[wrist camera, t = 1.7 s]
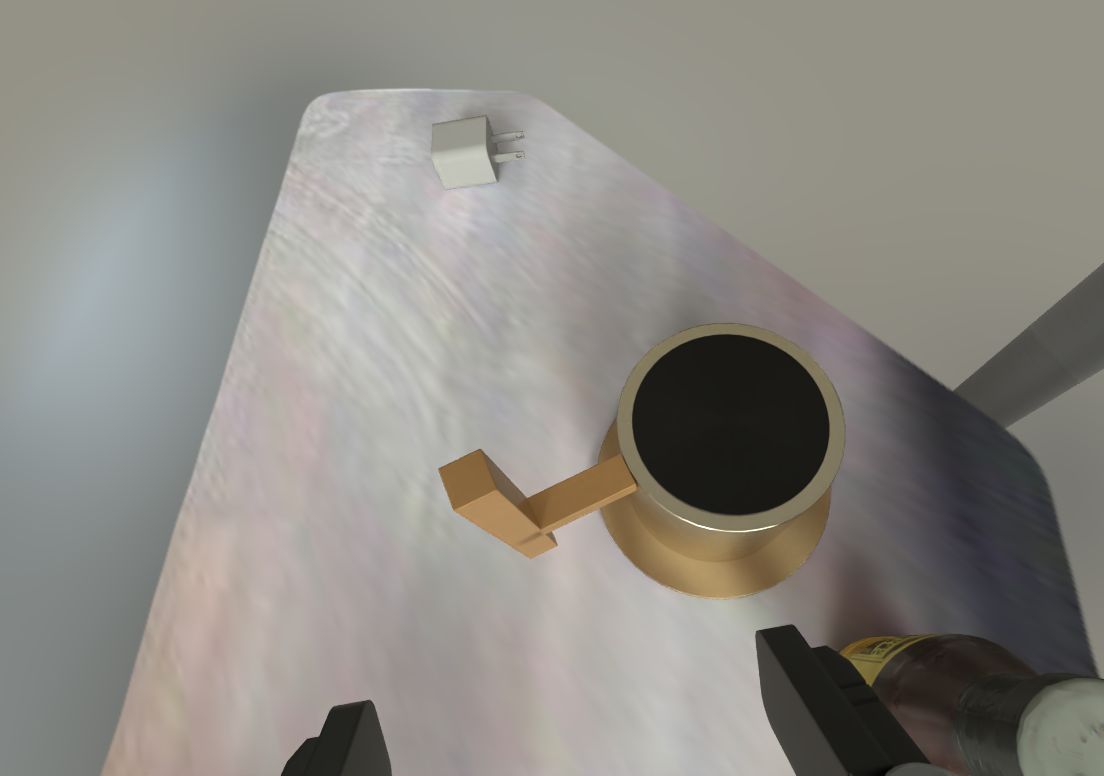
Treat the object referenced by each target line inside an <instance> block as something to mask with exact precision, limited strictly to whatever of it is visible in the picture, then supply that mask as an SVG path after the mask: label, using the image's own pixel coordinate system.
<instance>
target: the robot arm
mask: <svg viewBox="0 0 1104 776" xmlns="http://www.w3.org/2000/svg"><path fill="white" fill-rule="evenodd" d="M755 638H756V648H757V658H758V667H759V676H760V685H761V693H762V699H763V704H764V708H765V711H766V714H767V717H768V720H769V723H770V725H771V727H772V729H773V731H774V733H775V735H776V737H777V739H778V741H779V743H780V745H781V747H782V749H783V751H784V752H785V754H786V756H787V758H788V760H789V762H790V764H791V766H792V768H793V770H794V772H795V774H796V776H958V775H956V774H954V773H952V772H950V771H948V770H946V769H944V768H941V767H938V766H935V765H932V764H931V762H930V761H929V760H928V759H927V757H926V756H925V755H924V754H923V752H922V751H921V750H920V749H919V747H918V746H917V745H916V743H915V742H914V741H913V740H912V738H911V737H910V736H909V735H908V733H907V732H906V731H905V730H904V728H903V727H902V726H901V724H900V723H899V722H898V721H897V719H896V718H895V717H894V716H893V714H892V713H891V712H890V711H889V709H888V708H887V707H886V706H885V704H884V703H883V702H882V701H880V700H879V697H878V695H877V694H876V693H875V692H874V690H873V689H872V688H871V687H870V685H869V684H868V685H867V683H866V680H865V679H864V678H863V676H862V675H861V674H860V673H859V671H858V670H857V669H856V668H855V666H854V665H853V664H852V663H851V661H850V660H848V659H847V658H845V657H843V656H842V655H840V654H839V653H837V652H836V651H834V650H833V649H831V648H829V647H828V646H822V647H816V648H810V646H809V645H808V643H807V642H806V641H805V639H804V638H803V636H802V635H801V634H800V632H799V631H798V629H797V628H796V627H795V626H794V625H792V624H791V625H785V626H780V627H774V628H769V629H763V630H758V631H756V635H755ZM281 776H392V772H391V763H390V759H389V755H388V752H387V748H386V744H385V741H384V737H383V734H382V730H381V727H380V723H379V719H378V716H377V712H376V709H375V706H374V704H373V702H372V701H371V700H366V701H360V702H355V703H349V704H344V705H338V706H334V707H332V709H331V710H330V712H329V714H328V716H327V719H326V721H325V724H324V726H323V728H322V731H321V733H320V735H319V737H314V738H309V739H306V741H305V742H304V743H303V744H302V745H301V746H300V747H299V749H298V750H297V751H296V752H295V753H294V754H293V756H292V757H291V758H290V759H289V760H288V761H287V763H286V765H285V767H284V770H283V772H282V774H281Z"/></svg>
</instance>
